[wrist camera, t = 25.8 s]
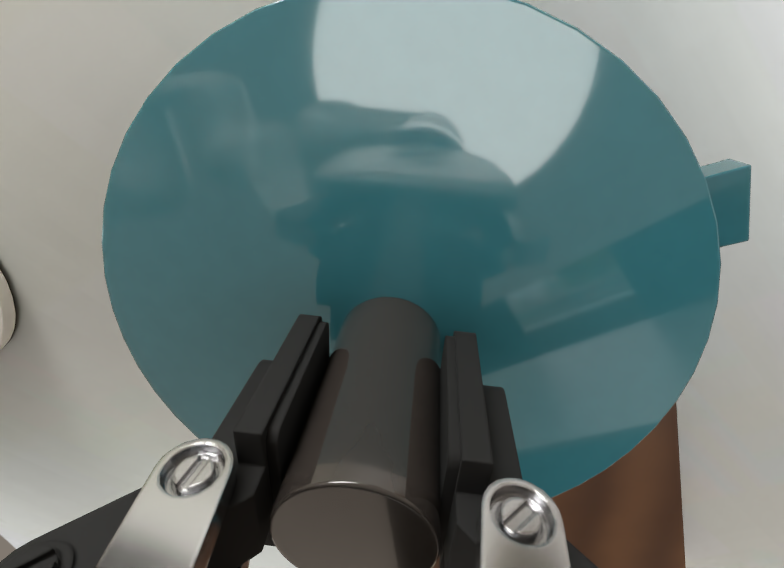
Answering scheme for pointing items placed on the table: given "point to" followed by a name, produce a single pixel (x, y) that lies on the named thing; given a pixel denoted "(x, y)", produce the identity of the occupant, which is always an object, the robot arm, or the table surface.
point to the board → (631, 506)
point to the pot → (730, 199)
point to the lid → (411, 248)
